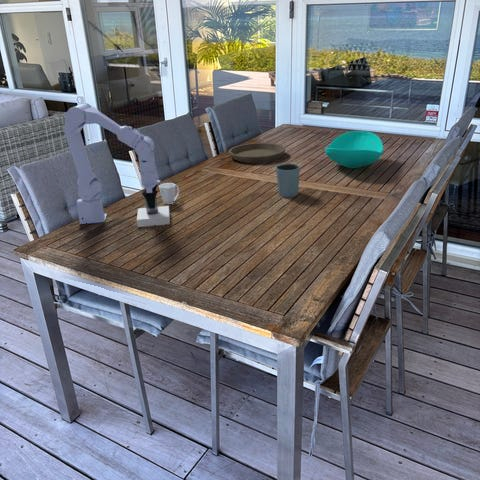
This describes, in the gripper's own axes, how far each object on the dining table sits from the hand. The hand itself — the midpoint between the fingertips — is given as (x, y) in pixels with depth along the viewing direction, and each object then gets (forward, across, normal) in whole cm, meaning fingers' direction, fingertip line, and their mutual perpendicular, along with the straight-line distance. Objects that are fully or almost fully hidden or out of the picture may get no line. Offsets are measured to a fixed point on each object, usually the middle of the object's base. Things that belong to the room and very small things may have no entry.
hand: (152, 204), depth 183 cm
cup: (+6, +18, -7) cm, 20 cm away
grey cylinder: (+3, 0, 0) cm, 3 cm away
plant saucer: (+7, +79, -55) cm, 96 cm away
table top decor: (+6, +47, -98) cm, 109 cm away
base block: (+6, 0, 0) cm, 6 cm away
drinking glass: (+6, +16, -57) cm, 60 cm away
